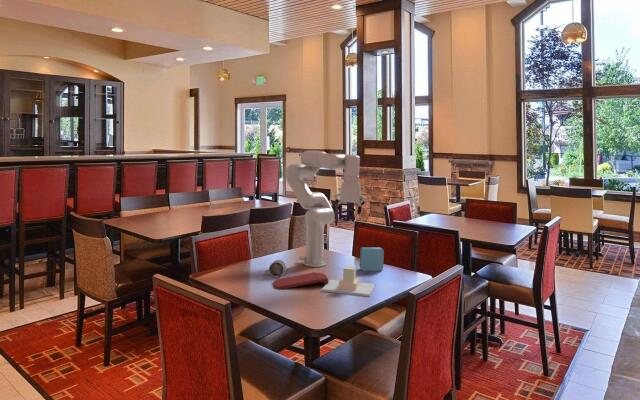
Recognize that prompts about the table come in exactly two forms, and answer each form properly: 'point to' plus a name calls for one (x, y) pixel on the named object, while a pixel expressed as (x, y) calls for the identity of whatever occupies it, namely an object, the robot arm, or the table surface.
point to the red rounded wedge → (300, 280)
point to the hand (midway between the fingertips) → (349, 213)
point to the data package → (371, 259)
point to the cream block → (349, 274)
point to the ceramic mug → (276, 268)
